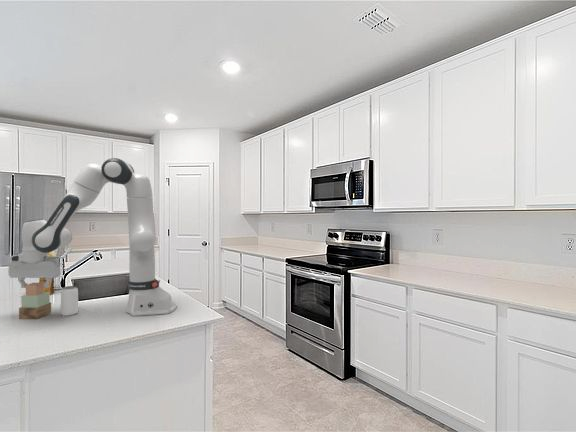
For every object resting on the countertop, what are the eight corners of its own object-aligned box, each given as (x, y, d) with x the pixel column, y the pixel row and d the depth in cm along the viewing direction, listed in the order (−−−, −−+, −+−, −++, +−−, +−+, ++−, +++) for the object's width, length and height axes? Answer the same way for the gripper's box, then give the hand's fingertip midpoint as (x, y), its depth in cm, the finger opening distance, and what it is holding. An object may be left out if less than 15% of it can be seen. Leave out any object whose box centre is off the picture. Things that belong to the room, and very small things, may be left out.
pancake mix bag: (49, 288, 192) (48, 240, 192) (60, 293, 181) (60, 243, 180) (35, 290, 187) (34, 241, 186) (46, 296, 175) (45, 244, 174)
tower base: (51, 313, 149) (50, 302, 149) (38, 319, 141) (37, 308, 141) (33, 313, 149) (32, 302, 148) (19, 319, 141) (18, 307, 140)
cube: (43, 292, 147) (43, 282, 146) (36, 295, 142) (36, 285, 142) (33, 292, 146) (33, 282, 146) (25, 295, 142) (25, 285, 142)
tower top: (49, 303, 148) (49, 292, 148) (37, 307, 141) (37, 296, 141) (34, 302, 148) (34, 291, 148) (21, 307, 141) (21, 296, 141)
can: (65, 317, 144) (65, 289, 143) (58, 314, 147) (58, 287, 147) (81, 313, 149) (80, 286, 149) (73, 310, 153) (73, 285, 152)
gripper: (63, 255, 147) (64, 285, 148) (17, 255, 147) (17, 285, 147) (54, 257, 141) (54, 289, 141) (5, 257, 140) (5, 289, 141)
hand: (35, 287), depth 144 cm, fingers open, 8 cm apart
